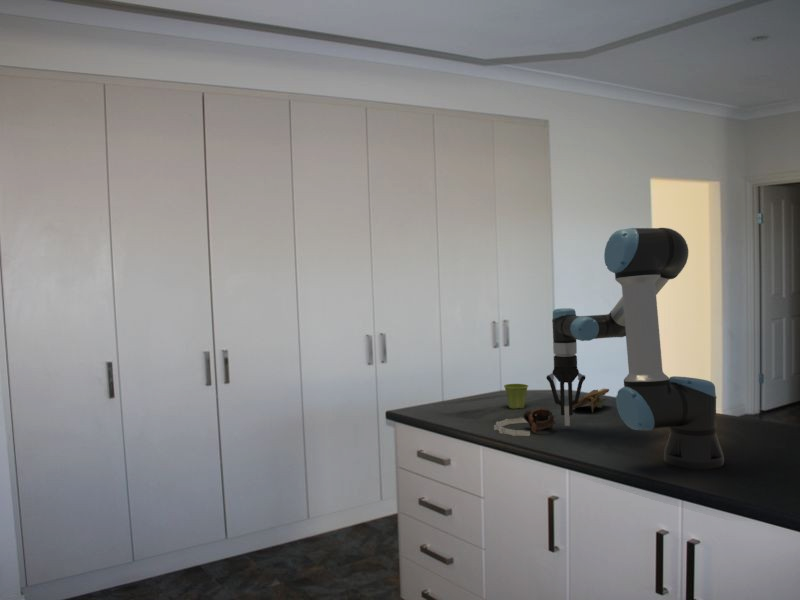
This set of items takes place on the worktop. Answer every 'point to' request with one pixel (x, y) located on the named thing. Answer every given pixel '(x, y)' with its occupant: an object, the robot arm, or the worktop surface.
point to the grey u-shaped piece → (510, 431)
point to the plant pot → (516, 395)
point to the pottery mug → (539, 419)
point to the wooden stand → (592, 399)
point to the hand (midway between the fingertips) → (567, 424)
